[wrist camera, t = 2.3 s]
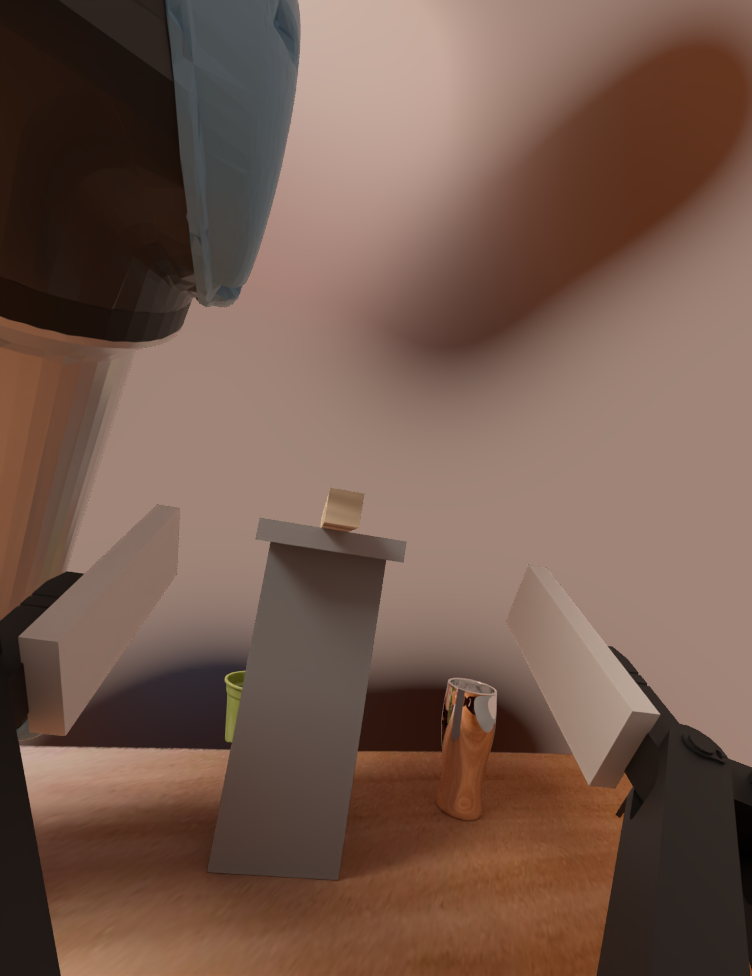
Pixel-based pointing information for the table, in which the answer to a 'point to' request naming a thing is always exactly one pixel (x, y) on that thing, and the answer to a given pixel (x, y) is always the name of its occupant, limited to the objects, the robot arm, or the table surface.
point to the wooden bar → (342, 510)
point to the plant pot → (233, 701)
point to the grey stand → (301, 703)
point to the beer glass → (465, 746)
